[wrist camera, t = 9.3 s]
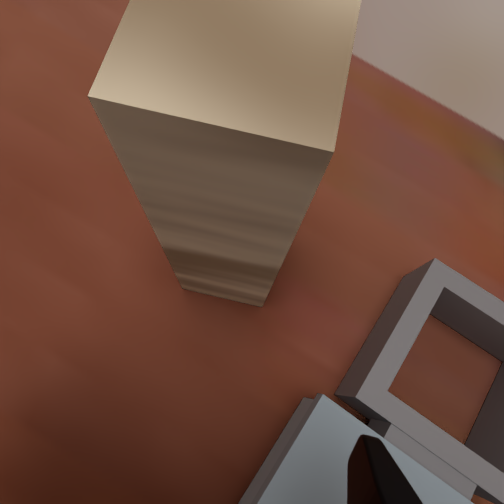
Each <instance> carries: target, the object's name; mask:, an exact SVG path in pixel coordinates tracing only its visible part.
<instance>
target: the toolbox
mask: <svg viewBox="0 0 504 504" xmlns="http://www.w3.org/2000/svg"><path fill="white" fill-rule="evenodd" d="M429 314H431V315H433V316H434V317H436V318H437V319H439V320H440V321H442V322H443V323H445V324H446V325H448V326H449V327H451V328H452V329H454V330H455V331H457V332H458V333H460V334H461V335H463V336H464V337H466V338H467V339H469V340H470V341H472V342H473V343H475V344H476V345H478V346H479V347H481V348H482V349H484V350H485V351H487V352H488V353H490V354H491V355H493V356H494V357H496V358H497V359H499V360H500V361H502V362H503V363H502V365H501V367H500V369H499V371H498V374H497V376H496V378H495V380H494V382H493V384H492V387H491V389H490V391H489V393H488V395H487V397H486V400H485V402H484V404H483V406H482V408H481V410H480V413H479V415H478V417H477V419H476V421H475V424H474V426H473V428H472V430H471V432H470V434H469V437H468V439H467V441H466V443H465V445H463V444H462V443H460V442H459V441H457V440H456V439H455V438H453V437H452V436H450V435H449V434H447V433H446V432H445V431H443V430H442V429H440V428H439V427H438V426H436V425H435V424H433V423H432V422H430V421H429V420H428V419H426V418H425V417H423V416H422V415H421V414H419V413H418V412H416V411H415V410H414V409H412V408H411V407H409V406H408V405H406V404H405V403H404V402H402V401H401V400H399V399H398V398H397V397H395V396H394V395H392V394H391V393H389V392H388V391H387V390H388V389H389V387H390V385H391V383H392V381H393V379H394V378H395V376H396V374H397V372H398V370H399V369H400V367H401V365H402V363H403V361H404V359H405V358H406V356H407V354H408V352H409V350H410V348H411V347H412V345H413V343H414V341H415V339H416V337H417V336H418V334H419V332H420V330H421V328H422V326H423V325H424V323H425V321H426V319H427V317H428V315H429ZM334 395H336V396H337V397H338V398H340V399H341V400H342V401H344V402H345V403H347V404H348V405H349V406H351V407H352V408H354V409H355V410H356V411H358V412H359V413H360V414H362V415H363V416H365V417H366V418H367V419H369V420H370V422H369V424H368V425H367V426H366V425H365V424H364V423H362V422H361V421H359V420H358V419H357V418H355V417H354V416H353V415H351V414H350V413H348V412H347V411H346V410H344V409H343V408H342V407H340V406H339V405H337V404H336V403H335V402H333V401H332V400H330V399H329V398H328V397H326V396H325V395H324V394H319V393H317V395H316V397H315V398H314V399H310V398H305V397H303V399H302V401H301V402H300V404H299V406H298V407H297V409H296V410H295V412H294V414H293V415H292V417H291V419H290V420H289V422H288V423H287V425H286V427H285V428H284V430H283V432H282V433H281V435H280V436H279V438H278V440H277V441H276V443H275V445H274V446H273V448H272V449H271V451H270V453H269V454H268V456H267V458H266V459H265V461H264V463H263V464H262V466H261V467H260V469H259V471H258V472H257V474H256V476H255V477H254V479H253V480H252V482H251V484H250V485H249V487H248V489H247V490H246V492H245V493H244V495H243V497H242V498H241V500H240V502H239V503H238V504H347V466H348V460H349V456H350V454H351V452H352V450H353V448H354V446H355V444H356V442H357V440H358V438H359V436H360V435H362V434H365V435H369V436H373V437H377V438H379V439H380V440H381V441H382V442H383V444H384V445H385V447H386V448H387V450H388V451H389V453H390V454H391V456H392V457H393V459H394V460H395V462H396V463H397V465H398V466H399V468H400V469H401V471H402V472H403V474H404V475H405V477H406V478H407V480H408V481H409V483H410V484H411V486H412V487H413V489H414V490H415V492H416V494H417V495H418V497H419V498H420V500H421V501H422V503H423V504H474V503H472V502H471V501H470V500H471V498H472V496H473V494H475V495H477V496H479V497H482V498H484V499H486V500H488V501H490V502H493V503H495V504H504V302H503V301H501V300H500V299H498V298H497V297H495V296H493V295H492V294H490V293H489V292H487V291H486V290H484V289H482V288H481V287H479V286H478V285H476V284H475V283H473V282H472V281H470V280H468V279H467V278H465V277H464V276H462V275H461V274H459V273H458V272H456V271H454V270H453V269H451V268H450V267H448V266H447V265H445V264H443V263H442V262H440V261H439V260H437V259H436V258H434V259H432V260H431V261H429V262H427V263H426V264H424V265H422V266H421V267H419V268H417V269H416V270H414V271H412V272H410V273H409V274H407V275H405V276H404V277H403V278H402V280H401V282H400V284H399V285H398V287H397V289H396V290H395V292H394V294H393V295H392V297H391V299H390V300H389V302H388V304H387V306H386V307H385V309H384V311H383V312H382V314H381V316H380V317H379V319H378V321H377V323H376V324H375V326H374V328H373V329H372V331H371V333H370V334H369V336H368V338H367V339H366V341H365V343H364V345H363V346H362V348H361V350H360V351H359V353H358V355H357V356H356V358H355V360H354V361H353V363H352V365H351V367H350V368H349V370H348V372H347V373H346V375H345V377H344V378H343V380H342V382H341V384H340V385H339V387H338V389H337V390H336V392H335V394H334Z"/></svg>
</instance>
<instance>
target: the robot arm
mask: <svg viewBox="0 0 504 504" xmlns="http://www.w3.org/2000/svg"><path fill="white" fill-rule="evenodd" d="M347 504H423V503H422V501H421V500H420V498H419V497H418V495H417V494H416V492H415V490H414V489H413V487H412V486H411V484H410V483H409V481H408V480H407V478H406V477H405V475H404V474H403V472H402V471H401V469H400V468H399V466H398V465H397V463H396V462H395V460H394V459H393V457H392V456H391V454H390V453H389V451H388V450H387V448H386V447H385V445H384V444H383V442H382V441H381V440H380V439H379V438H377V437H373V436H369V435H365V434H362V435H360V436H359V438H358V440H357V442H356V444H355V446H354V448H353V450H352V452H351V454H350V456H349V460H348V466H347Z"/></svg>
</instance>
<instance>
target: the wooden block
mask: <svg viewBox="0 0 504 504" xmlns="http://www.w3.org/2000/svg"><path fill="white" fill-rule="evenodd" d="M360 5H361V0H130V2H129V4H128V6H127V8H126V11H125V13H124V15H123V17H122V20H121V22H120V24H119V26H118V29H117V31H116V33H115V35H114V38H113V40H112V42H111V44H110V47H109V49H108V51H107V54H106V56H105V58H104V60H103V63H102V65H101V67H100V69H99V72H98V74H97V76H96V78H95V81H94V83H93V85H92V87H91V90H90V92H89V94H88V98H89V100H90V102H91V104H92V106H93V108H94V110H95V112H96V114H97V116H98V118H99V120H100V122H101V124H102V126H103V128H104V130H105V132H106V134H107V136H108V138H109V141H110V143H111V145H112V147H113V149H114V151H115V153H116V155H117V157H118V159H119V161H120V163H121V165H122V167H123V169H124V171H125V173H126V175H127V177H128V179H129V181H130V183H131V185H132V187H133V189H134V191H135V193H136V195H137V197H138V199H139V202H140V204H141V206H142V208H143V210H144V212H145V214H146V216H147V218H148V220H149V222H150V224H151V226H152V228H153V230H154V232H155V234H156V236H157V238H158V240H159V242H160V244H161V246H162V248H163V250H164V252H165V254H166V256H167V258H168V260H169V263H170V265H171V267H172V269H173V271H174V273H175V275H176V277H177V279H178V281H179V283H180V285H181V287H182V289H186V290H190V291H194V292H199V293H203V294H207V295H211V296H216V297H220V298H224V299H229V300H233V301H237V302H241V303H246V304H250V305H254V306H258V307H262V306H263V304H264V302H265V300H266V298H267V296H268V293H269V291H270V289H271V287H272V285H273V283H274V281H275V278H276V276H277V274H278V272H279V270H280V268H281V265H282V263H283V261H284V259H285V257H286V255H287V252H288V250H289V248H290V246H291V244H292V242H293V239H294V237H295V235H296V233H297V231H298V229H299V227H300V224H301V222H302V220H303V218H304V216H305V214H306V211H307V209H308V207H309V205H310V203H311V201H312V198H313V196H314V194H315V192H316V190H317V188H318V185H319V183H320V181H321V179H322V177H323V175H324V173H325V170H326V168H327V166H328V164H329V162H330V160H331V157H332V155H333V153H334V149H335V144H336V138H337V132H338V127H339V121H340V116H341V110H342V105H343V99H344V94H345V88H346V83H347V77H348V72H349V66H350V60H351V55H352V49H353V43H354V38H355V33H356V27H357V22H358V16H359V11H360Z"/></svg>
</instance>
